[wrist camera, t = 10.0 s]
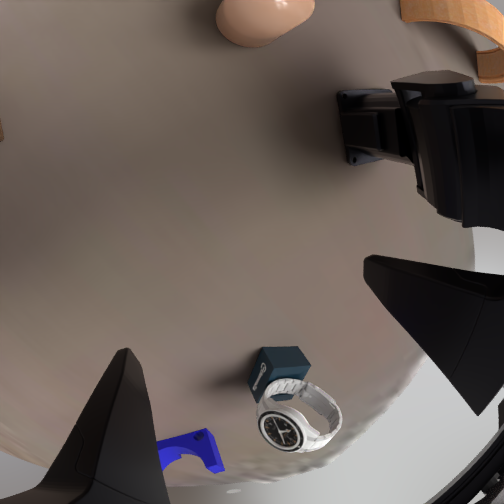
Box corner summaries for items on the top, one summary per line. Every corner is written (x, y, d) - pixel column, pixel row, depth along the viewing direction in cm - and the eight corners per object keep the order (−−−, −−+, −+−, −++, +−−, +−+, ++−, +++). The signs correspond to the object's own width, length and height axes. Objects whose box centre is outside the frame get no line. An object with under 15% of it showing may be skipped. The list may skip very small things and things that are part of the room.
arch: (396, -16, 15) (464, -33, 6) (478, 53, 21) (529, 57, 13) (400, 20, 17) (476, 8, 9) (480, 84, 24) (533, 92, 15)
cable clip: (145, 457, 30) (150, 490, 25) (129, 446, 28) (133, 481, 23) (217, 439, 32) (228, 473, 27) (205, 427, 30) (217, 464, 25)
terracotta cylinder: (272, -6, 14) (302, -33, 10) (287, 45, 16) (323, 26, 12) (209, -3, 13) (226, -36, 9) (223, 51, 15) (245, 27, 11)
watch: (244, 346, 26) (290, 438, 17) (310, 345, 29) (365, 417, 20) (230, 383, 28) (265, 468, 18) (292, 379, 31) (336, 449, 21)
